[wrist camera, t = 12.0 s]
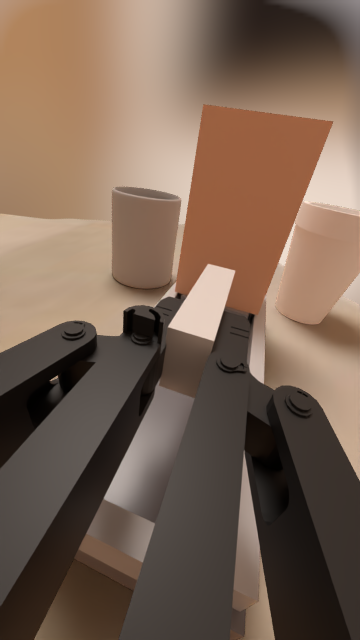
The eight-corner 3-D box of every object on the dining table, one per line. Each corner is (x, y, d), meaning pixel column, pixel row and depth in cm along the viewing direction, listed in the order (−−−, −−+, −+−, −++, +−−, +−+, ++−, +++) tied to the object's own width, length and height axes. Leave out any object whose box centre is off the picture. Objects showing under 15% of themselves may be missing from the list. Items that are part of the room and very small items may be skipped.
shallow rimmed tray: (228, 642, 9) (270, 628, 7) (13, 526, 11) (-17, 481, 8) (256, 319, 30) (269, 287, 27) (180, 297, 31) (185, 265, 29)
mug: (181, 285, 34) (195, 202, 28) (124, 293, 30) (126, 197, 24) (147, 255, 43) (152, 186, 37) (98, 258, 38) (94, 179, 32)
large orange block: (250, 335, 22) (335, 119, 14) (170, 311, 24) (201, 102, 15) (253, 306, 27) (317, 134, 19) (187, 288, 29) (218, 120, 20)
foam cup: (323, 341, 28) (395, 224, 21) (252, 306, 32) (291, 201, 25) (340, 315, 34) (400, 219, 27) (279, 289, 39) (316, 201, 32)
